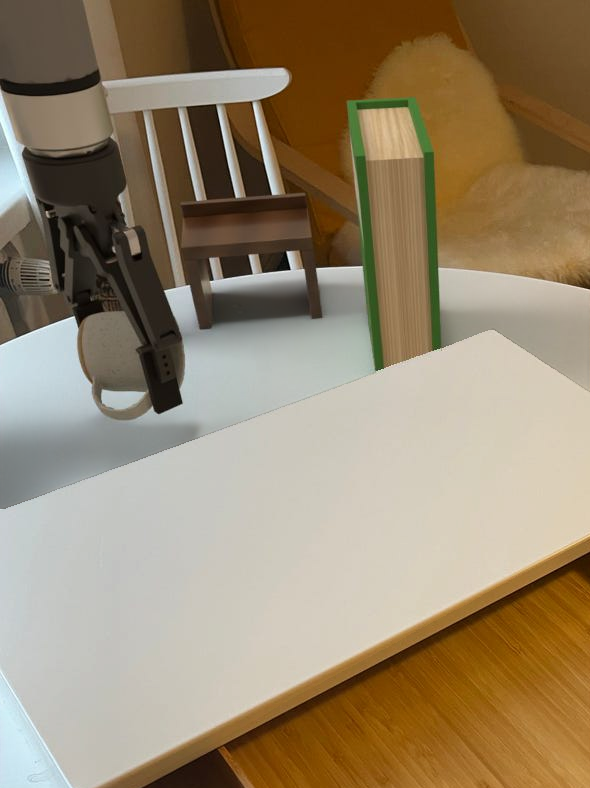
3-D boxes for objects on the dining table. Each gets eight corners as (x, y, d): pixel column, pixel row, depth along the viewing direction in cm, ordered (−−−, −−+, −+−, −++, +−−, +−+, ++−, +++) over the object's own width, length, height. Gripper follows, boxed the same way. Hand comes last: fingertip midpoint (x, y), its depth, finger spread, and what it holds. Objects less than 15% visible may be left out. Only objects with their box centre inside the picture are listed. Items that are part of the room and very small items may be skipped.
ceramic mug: (110, 366, 95) (87, 294, 90) (190, 367, 95) (173, 294, 90) (79, 424, 88) (52, 349, 82) (166, 425, 88) (146, 349, 82)
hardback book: (442, 380, 106) (433, 151, 89) (377, 385, 105) (355, 156, 88) (426, 309, 118) (415, 97, 101) (367, 313, 117) (346, 100, 100)
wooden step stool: (199, 329, 115) (177, 234, 107) (201, 293, 122) (180, 201, 114) (322, 317, 117) (310, 223, 109) (317, 283, 124) (305, 192, 116)
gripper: (189, 165, 73) (238, 415, 88) (39, 101, 84) (106, 334, 99) (103, 190, 69) (170, 447, 84) (-43, 120, 80) (41, 359, 95)
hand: (136, 386), depth 92 cm, fingers closed on ceramic mug, 10 cm apart
